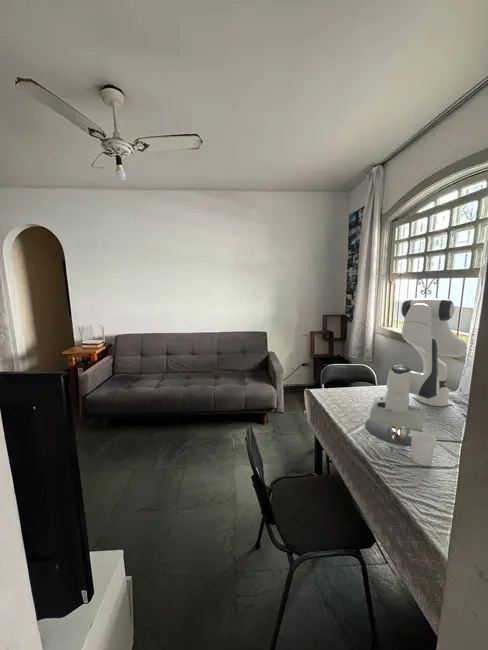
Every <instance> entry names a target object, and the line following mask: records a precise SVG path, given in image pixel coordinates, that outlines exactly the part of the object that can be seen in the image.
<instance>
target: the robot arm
mask: <svg viewBox="0 0 488 650" xmlns="http://www.w3.org/2000/svg"><path fill="white" fill-rule="evenodd" d="M400 309H401V310H400V311H401V315H402V317H403V318H404V320H403V325H402V329H401V335H402V338H403V339H404V341H406V343H408V344H409V345H411V346H412V347H413V348H414V350H416V351H417V353H419V355H420V357H421V359H422V363H423V369H422V370H423V371H422V372H418V371H413V370H411V369H410V368H409V367H408V366H405V365H402V364H397V365H392V366H391V367H390V368H389V371H388V376H387V381H386V388H387V390H386V391H387V392H386V393H385V395H381V396H375V397H374V398H373V403H372V404H371V407H370V411H369V417H368V419H369V418H370V419H371V420H372V421H376V422H381V423H386V424H389V427H390V429H391V434H395V435H397V431H398V430H399V429H400V427H406V428H411V429H416V430H422V429H424V428H423V427H424V418H425V415H426V411H425V410H424V409H423V408H421V407H420V406H419V407H418V406H417V407H416V406H412V405H410V394H412V399H415V400H417V401H419V402H420V403H423V404H425V405H429V406H434V407H445V406H452V404H453V403H452V402H451V401H450V400H449V396H450V390H449V389H448V388H447V384H448V379H447V375H448V366H447V364H446V363H445V362H444V361H443V360H441V359H440V358H439V356H444V357H448V358H460V357H463V356H464V355H465V354H466V353H467V351H468V344H467V342H466V340H464V339H463V338H461V337H459V336H458V335H457V334H455V333H454V332H453V330H451V328H450V327H449V322H448V321H449V320H450V319H452V318H453V316H454V314H455V310H456V309H455V305H454V302H453V301H452V300H451V299H448V298H436V297H435V298H434V297H427V298H426V297H425V298H424V297H423V298H408V299H405V300H404V301H403V303H402V304H401V308H400ZM392 425H396V426H397V427H396V429H393V428H392Z"/></svg>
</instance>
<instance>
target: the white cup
mask: <svg viewBox="0 0 488 650" xmlns="http://www.w3.org/2000/svg"><path fill="white" fill-rule="evenodd" d="M436 440H437V439H436V437H434V436H433V435H431V434H430V433H427V432H425V431H422V432H413V433H412V437H411V445H410V458H411V459H410V460H411V461H413V462H414V463H416V464H417V465H420V466H424V467H428V466H429V467H430V466H431V464H432V461H433V457H434V452H435V448H436V442H437V441H436Z"/></svg>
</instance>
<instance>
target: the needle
mask: <svg viewBox="0 0 488 650" xmlns="http://www.w3.org/2000/svg"><path fill="white" fill-rule="evenodd" d="M396 427H397V426H396V425H392V428H393V429H396ZM389 428H390V427H389ZM406 429H407V428H406V427H400V431H399V430H398V431H397V434H398V436H399V441H400V442H405V438H406Z"/></svg>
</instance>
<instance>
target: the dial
mask: <svg viewBox="0 0 488 650" xmlns="http://www.w3.org/2000/svg"><path fill="white" fill-rule="evenodd" d="M365 427H366V429H367V430H368V431H369V433H371V435H373V436H375V437H376V438H378V439H381V440H384V441H386V442H389V443H391V444H397V445H404V446H411V437H412V433H413V432H423V430H422V429H421V430H416V429H411V428H407V429H406V438H405V442H400V441H399V436H398V434H397V435H395V434H391V429H390V428H389V424H386V423H381V422H376V421H372V420H371V419H370V418H369V417H368V419H367V420H366V421H365ZM399 431H400V429H399Z"/></svg>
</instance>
